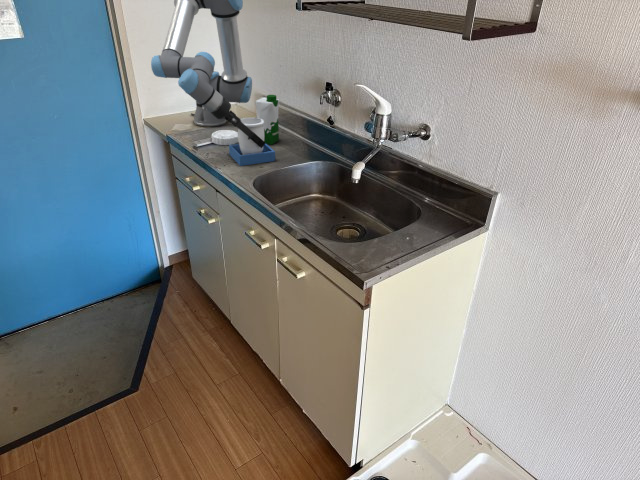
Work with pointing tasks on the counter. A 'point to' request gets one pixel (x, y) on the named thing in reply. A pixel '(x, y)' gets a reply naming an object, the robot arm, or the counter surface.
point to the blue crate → (251, 155)
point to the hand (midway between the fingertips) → (258, 141)
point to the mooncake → (225, 137)
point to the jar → (247, 144)
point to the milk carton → (269, 117)
